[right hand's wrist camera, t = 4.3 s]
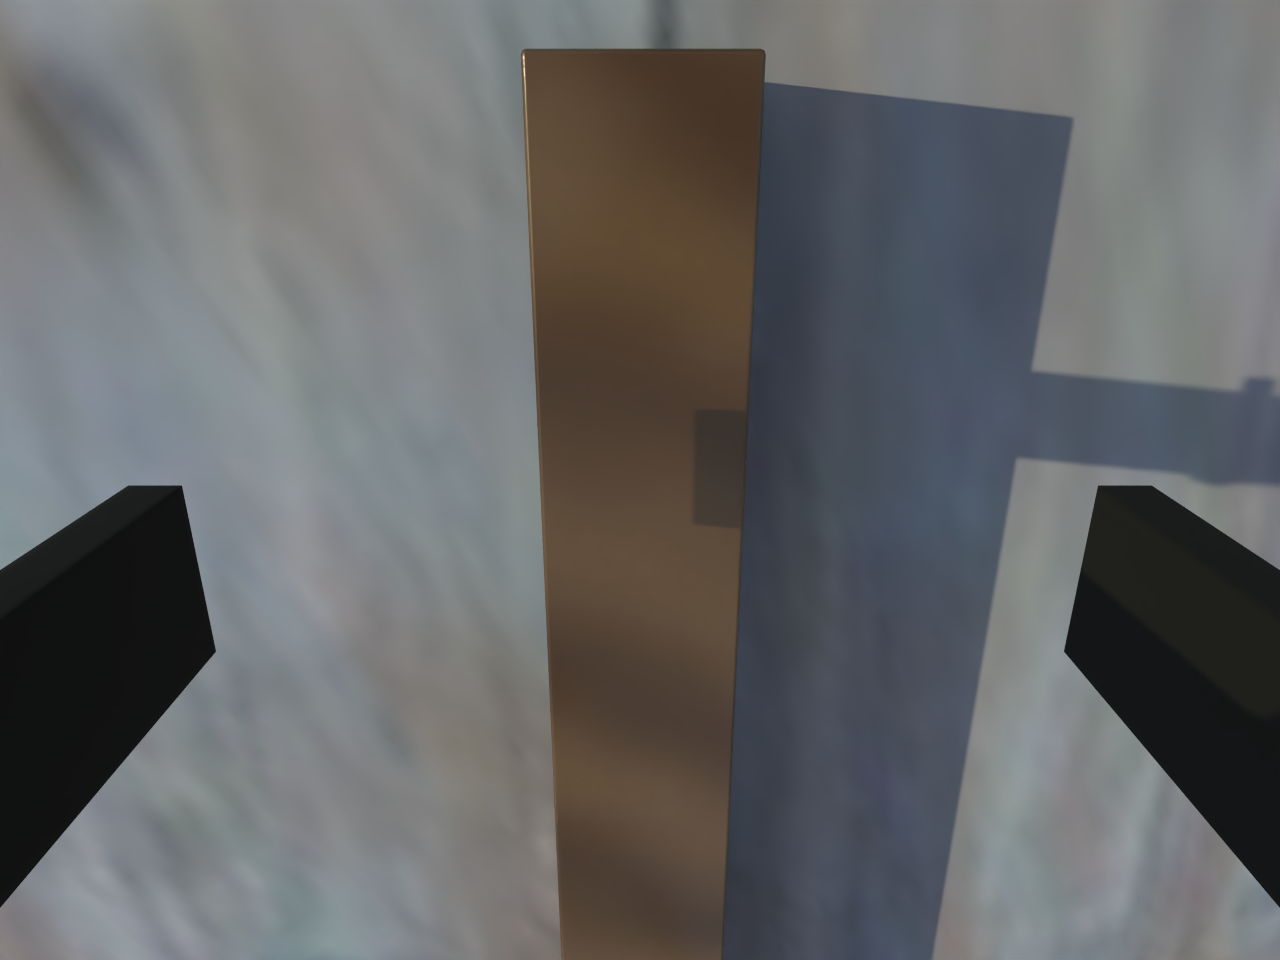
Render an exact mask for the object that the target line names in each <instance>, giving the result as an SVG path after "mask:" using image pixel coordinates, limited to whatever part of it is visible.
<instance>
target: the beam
mask: <svg viewBox="0 0 1280 960" xmlns="http://www.w3.org/2000/svg"><path fill="white" fill-rule="evenodd" d="M765 57H766V54H765V51H764V50H762V49H524V50H522V53H521V68H522V90H523V112H524V134H525V156H526V179H527V201H528V223H529V245H530V268H531V290H532V312H533V334H534V356H535V379H536V401H537V423H538V445H539V467H540V490H541V512H542V534H543V556H544V578H545V601H546V623H547V645H548V667H549V690H550V712H551V734H552V756H553V778H554V801H555V823H556V845H557V867H558V889H559V912H560V934H561V956H562V960H722V958H723V937H724V916H725V895H726V874H727V853H728V832H729V811H730V790H731V769H732V748H733V727H734V706H735V685H736V664H737V643H738V622H739V602H740V581H741V560H742V539H743V518H744V497H745V476H746V455H747V434H748V413H749V392H750V371H751V350H752V329H753V308H754V287H755V266H756V245H757V224H758V203H759V182H760V162H761V141H762V120H763V99H764V78H765Z"/></svg>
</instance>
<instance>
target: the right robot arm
mask: <svg viewBox="0 0 1280 960" xmlns="http://www.w3.org/2000/svg"><path fill="white" fill-rule="evenodd" d="M215 652H216V650H215V645H214V640H213V635H212V630H211V625H210V620H209V615H208V611H207V606H206V601H205V596H204V591H203V586H202V581H201V577H200V572H199V567H198V562H197V557H196V552H195V547H194V543H193V538H192V533H191V528H190V523H189V518H188V513H187V508H186V504H185V499H184V494H183V489H182V486H127V487H126V488H124V489H123V490H121V491H120V492H118V493H116V494H115V495H113V496H112V497H110V498H109V499H107V500H106V501H104V502H103V503H101V504H100V505H98V506H97V507H95V508H94V509H92V510H91V511H89V512H88V513H86V514H85V515H83V516H82V517H80V518H79V519H77V520H76V521H74V522H73V523H71V524H70V525H68V526H66V527H65V528H63V529H62V530H60V531H59V532H57V533H56V534H54V535H53V536H51V537H50V538H48V539H47V540H45V541H44V542H42V543H41V544H39V545H38V546H36V547H35V548H33V549H32V550H30V551H29V552H27V553H26V554H24V555H23V556H21V557H20V558H18V559H16V560H15V561H13V562H12V563H10V564H9V565H7V566H6V567H4V568H3V569H1V570H0V907H1V906H2V905H3V904H4V902H5V901H6V900H7V899H8V898H9V897H10V895H11V894H12V893H13V892H14V891H15V889H16V888H17V887H18V886H19V885H20V883H21V882H22V881H23V880H24V879H25V878H26V876H27V875H28V874H29V873H30V872H31V870H32V869H33V868H34V867H35V866H36V865H37V863H38V862H39V861H40V860H41V859H42V857H43V856H44V855H45V854H46V853H47V851H48V850H49V849H50V848H51V847H52V846H53V844H54V843H55V842H56V841H57V840H58V838H59V837H60V836H61V835H62V834H63V832H64V831H65V830H66V829H67V828H68V827H69V825H70V824H71V823H72V822H73V821H74V819H75V818H76V817H77V816H78V815H79V813H80V812H81V811H82V810H83V809H84V808H85V806H86V805H87V804H88V803H89V802H90V800H91V799H92V798H93V797H94V796H95V794H96V793H97V792H98V791H99V790H100V789H101V787H102V786H103V785H104V784H105V783H106V781H107V780H108V779H109V778H110V777H111V775H112V774H113V773H114V772H115V771H116V770H117V768H118V767H119V766H120V765H121V764H122V762H123V761H124V760H125V759H126V758H127V756H128V755H129V754H130V753H131V752H132V751H133V749H134V748H135V747H136V746H137V745H138V743H139V742H140V741H141V740H142V739H143V737H144V736H145V735H146V734H147V733H148V732H149V730H150V729H151V728H152V727H153V726H154V724H155V723H156V722H157V721H158V720H159V718H160V717H161V716H162V715H163V714H164V713H165V711H166V710H167V709H168V708H169V707H170V705H171V704H172V703H173V702H174V701H175V699H176V698H177V697H178V696H179V695H180V694H181V692H182V691H183V690H184V689H185V688H186V686H187V685H188V684H189V683H190V682H191V680H192V679H193V678H194V677H195V676H196V675H197V673H198V672H199V671H200V670H201V669H202V667H203V666H204V665H205V664H206V663H207V661H208V660H209V659H210V658H211V657H212V656H213V654H214V653H215ZM1064 652H1065V653H1066V654H1067V656H1068V657H1069V658H1070V659H1071V660H1072V661H1073V663H1074V664H1075V665H1076V666H1077V667H1078V669H1079V670H1080V671H1081V672H1082V673H1083V675H1084V676H1085V677H1086V678H1087V679H1088V680H1089V682H1090V683H1091V684H1092V685H1093V686H1094V688H1095V689H1096V690H1097V691H1098V692H1099V694H1100V695H1101V696H1102V697H1103V698H1104V699H1105V701H1106V702H1107V703H1108V704H1109V705H1110V707H1111V708H1112V709H1113V710H1114V711H1115V713H1116V714H1117V715H1118V716H1119V717H1120V718H1121V720H1122V721H1123V722H1124V723H1125V724H1126V726H1127V727H1128V728H1129V729H1130V730H1131V732H1132V733H1133V734H1134V735H1135V736H1136V737H1137V739H1138V740H1139V741H1140V742H1141V743H1142V745H1143V746H1144V747H1145V748H1146V749H1147V751H1148V752H1149V753H1150V754H1151V755H1152V756H1153V758H1154V759H1155V760H1156V761H1157V762H1158V764H1159V765H1160V766H1161V767H1162V768H1163V770H1164V771H1165V772H1166V773H1167V774H1168V775H1169V777H1170V778H1171V779H1172V780H1173V781H1174V783H1175V784H1176V785H1177V786H1178V787H1179V789H1180V790H1181V791H1182V792H1183V793H1184V794H1185V796H1186V797H1187V798H1188V799H1189V800H1190V802H1191V803H1192V804H1193V805H1194V806H1195V808H1196V809H1197V810H1198V811H1199V812H1200V813H1201V815H1202V816H1203V817H1204V818H1205V819H1206V821H1207V822H1208V823H1209V824H1210V825H1211V827H1212V828H1213V829H1214V830H1215V831H1216V832H1217V834H1218V835H1219V836H1220V837H1221V838H1222V840H1223V841H1224V842H1225V843H1226V844H1227V846H1228V847H1229V848H1230V849H1231V850H1232V851H1233V853H1234V854H1235V855H1236V856H1237V857H1238V859H1239V860H1240V861H1241V862H1242V863H1243V865H1244V866H1245V867H1246V868H1247V869H1248V870H1249V872H1250V873H1251V874H1252V875H1253V876H1254V878H1255V879H1256V880H1257V881H1258V882H1259V883H1260V885H1261V886H1262V887H1263V888H1264V889H1265V891H1266V892H1267V893H1268V894H1269V895H1270V897H1271V898H1272V899H1273V900H1274V901H1275V902H1276V904H1277V905H1278V906H1279V907H1280V570H1279V569H1277V568H1276V567H1274V566H1273V565H1271V564H1270V563H1268V562H1267V561H1265V560H1264V559H1262V558H1260V557H1259V556H1257V555H1256V554H1254V553H1253V552H1251V551H1250V550H1248V549H1247V548H1245V547H1244V546H1242V545H1241V544H1239V543H1238V542H1236V541H1235V540H1233V539H1232V538H1230V537H1229V536H1227V535H1226V534H1224V533H1223V532H1221V531H1220V530H1218V529H1217V528H1215V527H1214V526H1212V525H1210V524H1209V523H1207V522H1206V521H1204V520H1203V519H1201V518H1200V517H1198V516H1197V515H1195V514H1194V513H1192V512H1191V511H1189V510H1188V509H1186V508H1185V507H1183V506H1182V505H1180V504H1179V503H1177V502H1176V501H1174V500H1173V499H1171V498H1170V497H1168V496H1167V495H1165V494H1164V493H1162V492H1160V491H1159V490H1157V489H1156V488H1154V487H1153V486H1098V489H1097V494H1096V499H1095V504H1094V508H1093V513H1092V518H1091V523H1090V528H1089V533H1088V538H1087V543H1086V547H1085V552H1084V557H1083V562H1082V567H1081V572H1080V577H1079V581H1078V586H1077V591H1076V596H1075V601H1074V606H1073V611H1072V615H1071V620H1070V625H1069V630H1068V635H1067V640H1066V645H1065V650H1064Z"/></svg>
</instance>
